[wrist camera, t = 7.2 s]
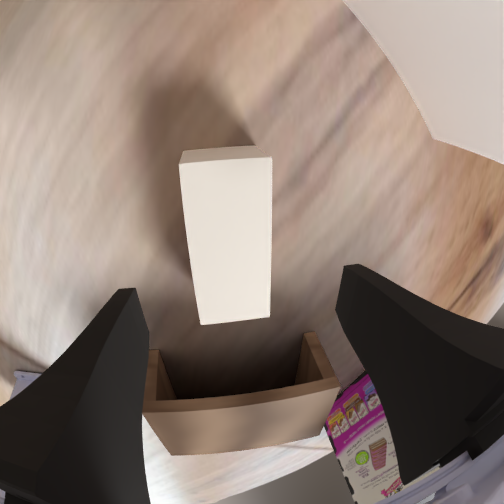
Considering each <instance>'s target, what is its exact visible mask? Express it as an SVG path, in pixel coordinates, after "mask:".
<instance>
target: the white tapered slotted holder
mask: <svg viewBox="0 0 504 504" xmlns="http://www.w3.org/2000/svg"><path fill="white" fill-rule="evenodd" d="M342 1H343V2H344V3H345V4H346V5H347V6H348V8H349V9H350V10H351V11H352V12H353V13H354V15H355V16H356V17H357V18H358V19H359V21H360V22H361V23H362V24H363V26H364V27H365V28H366V29H367V31H368V32H369V33H370V34H371V36H372V37H373V38H374V40H375V41H376V43H377V44H378V45H379V47H380V48H381V49H382V51H383V52H384V54H385V55H386V57H387V58H388V60H389V61H390V63H391V64H392V66H393V67H394V69H395V70H396V72H397V73H398V75H399V77H400V78H401V80H402V81H403V83H404V85H405V86H406V88H407V90H408V92H409V93H410V95H411V97H412V99H413V100H414V102H415V104H416V106H417V108H418V110H419V111H420V113H421V115H422V117H423V119H424V121H425V123H426V125H427V127H428V129H429V131H430V133H431V136H432V138H433V139H436V140H439V141H442V142H445V143H448V144H451V145H454V146H457V147H460V148H463V149H466V150H469V151H471V152H474V153H477V154H479V155H482V156H484V157H487V158H489V159H492V160H494V161H497V162H499V163H501V164H504V0H342Z"/></svg>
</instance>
